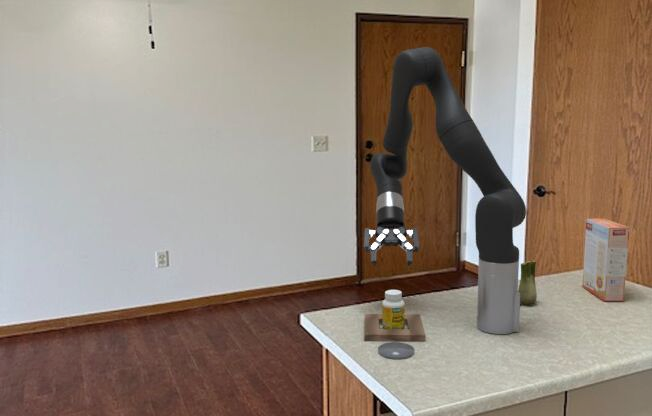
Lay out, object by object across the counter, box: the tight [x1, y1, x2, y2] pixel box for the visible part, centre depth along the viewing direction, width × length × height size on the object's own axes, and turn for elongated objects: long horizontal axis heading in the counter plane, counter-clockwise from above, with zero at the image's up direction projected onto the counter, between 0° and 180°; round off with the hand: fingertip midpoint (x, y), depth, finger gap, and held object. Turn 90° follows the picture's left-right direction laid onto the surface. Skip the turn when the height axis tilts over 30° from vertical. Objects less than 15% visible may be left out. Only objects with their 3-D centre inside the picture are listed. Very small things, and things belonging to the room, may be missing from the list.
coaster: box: [377, 341, 415, 360], centre depth 127 cm, size 8×8×1 cm
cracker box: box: [581, 217, 630, 302], centre depth 163 cm, size 14×6×21 cm, turn 179°
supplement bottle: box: [381, 289, 406, 329], centre depth 139 cm, size 5×5×10 cm
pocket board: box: [363, 313, 426, 342], centre depth 140 cm, size 14×14×2 cm
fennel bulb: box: [518, 260, 538, 306], centre depth 156 cm, size 6×5×12 cm
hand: (391, 264), depth 148 cm, fingers open, 8 cm apart
